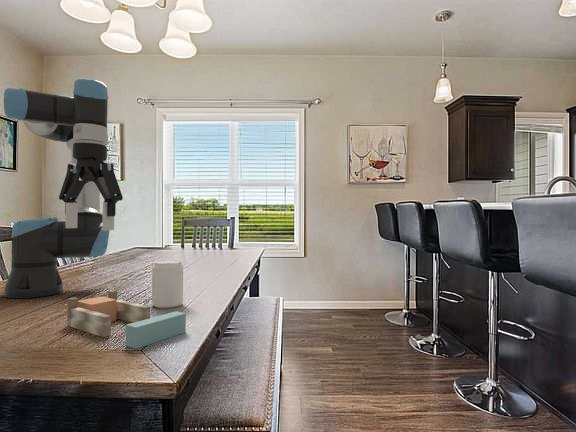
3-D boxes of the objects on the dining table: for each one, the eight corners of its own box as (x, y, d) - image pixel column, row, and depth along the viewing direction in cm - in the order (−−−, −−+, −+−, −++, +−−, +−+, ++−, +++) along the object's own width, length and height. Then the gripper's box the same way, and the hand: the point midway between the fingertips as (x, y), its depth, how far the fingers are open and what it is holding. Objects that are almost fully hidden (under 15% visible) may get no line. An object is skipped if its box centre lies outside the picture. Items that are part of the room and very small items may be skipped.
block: (76, 322, 85) (76, 301, 85) (101, 316, 90) (101, 296, 90) (91, 327, 82) (91, 304, 82) (116, 320, 87) (116, 299, 87)
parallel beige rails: (67, 325, 82) (67, 298, 82) (113, 314, 91) (113, 290, 91) (103, 337, 75) (104, 307, 75) (150, 324, 84) (150, 297, 84)
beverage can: (173, 310, 96) (174, 264, 96) (145, 308, 98) (146, 263, 98) (188, 302, 104) (188, 260, 104) (161, 301, 106) (162, 259, 106)
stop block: (125, 345, 70) (126, 324, 70) (175, 329, 80) (176, 311, 80) (135, 349, 68) (135, 327, 68) (185, 332, 78) (185, 313, 78)
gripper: (43, 144, 94) (42, 227, 94) (112, 137, 83) (111, 231, 84) (71, 149, 101) (70, 226, 101) (138, 143, 90) (137, 230, 90)
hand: (89, 229), depth 92 cm, fingers open, 13 cm apart
